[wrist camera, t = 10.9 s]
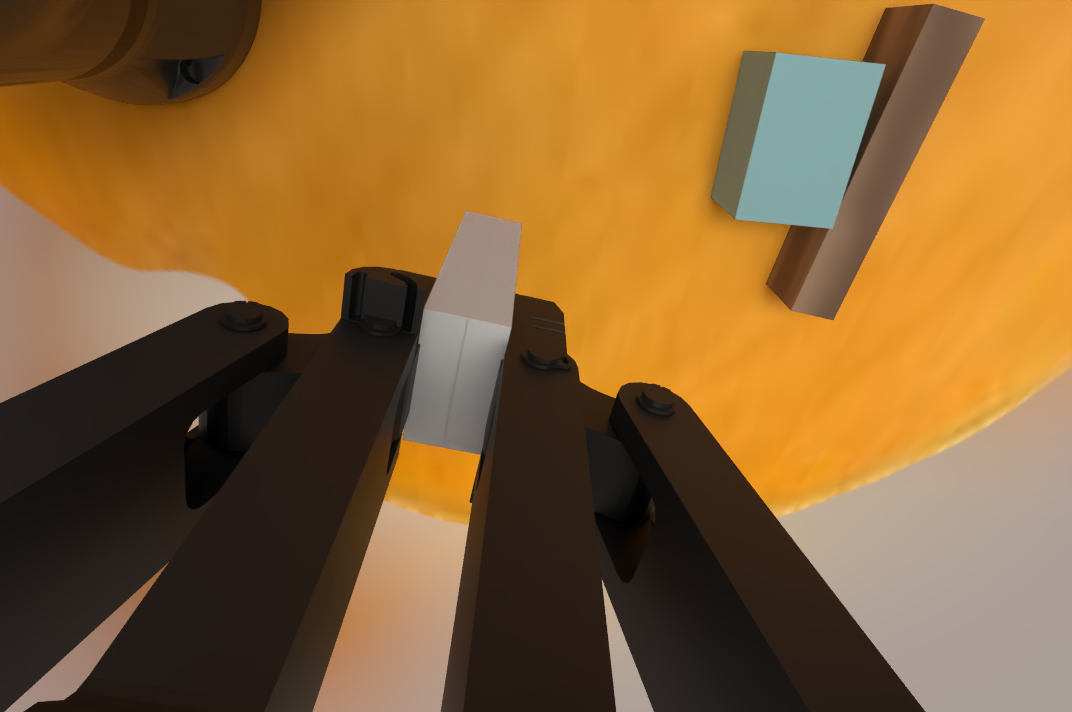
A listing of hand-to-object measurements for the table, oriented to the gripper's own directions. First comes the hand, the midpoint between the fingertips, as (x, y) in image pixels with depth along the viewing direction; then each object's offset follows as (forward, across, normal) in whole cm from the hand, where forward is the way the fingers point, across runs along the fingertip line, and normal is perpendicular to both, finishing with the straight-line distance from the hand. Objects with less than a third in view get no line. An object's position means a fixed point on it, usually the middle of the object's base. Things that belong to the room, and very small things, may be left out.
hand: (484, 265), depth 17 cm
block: (+27, +16, +4) cm, 31 cm away
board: (+26, +22, +3) cm, 34 cm away
